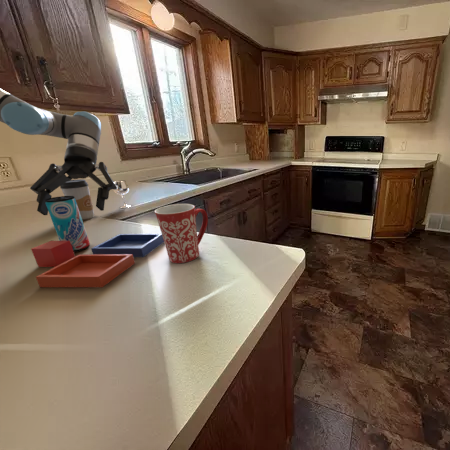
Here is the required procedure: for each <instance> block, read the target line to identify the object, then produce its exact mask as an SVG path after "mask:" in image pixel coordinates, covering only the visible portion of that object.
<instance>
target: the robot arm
mask: <svg viewBox="0 0 450 450" xmlns="http://www.w3.org/2000/svg"><path fill="white" fill-rule="evenodd" d="M0 122H1V123H3V124H5V125H6V126H8V127H9V128H10V129H12V130H14V131H16V132H18V133H21V134H24V135H28V136H29V135H30V136H35V135H38V136H39V135H41V136H47V137H54V138H58V139H59V138H60V139H65V140H67V143H66V145H65V146H66V147H65V151H64V157H63V160H64V162H63V164H62V165H56V164H55V163H50V165H49V166H48V169H47V170H46V171H45V172H44V173H42V175H41V176H40V177H39V178H38V179H37V180H36V181H35V182H34V183H33V184H32V185H31V186H30V190H31V191H33V192H34V193H35V194H36V195H37V197H36V203H38V205H37V209H36V212H38V213H39V214H41V215H43V216H48V214H49V211H48V208H47V206H46V202H45V199H49V198H53V197H52V195H51V194H52V193H53V192H54V191H56V190H57V189H59V188H60V186H61V185H62V184H64V183H65V182H66V181H70V180H79V179H84V180H85V179H87V178H90V179H91V180H92V181H93V182H94V183H96V184H97V186H98V188H97V194H96V202H95V207H96V208H97V209H98V210H99V211H103V212H104V211H105V204H106V203H105V202H106V200H108V199H109V195H110V191H111V190H113V189H117V187H116V185H115V183H114V180H113V178H112V177H111V175H110V174H109V172H108V167H107V165H106V164H105V163H104V161H99V162H98V163H97V160H98V154H99V153H98V152H99V145H100V140H101V135H102V123H101V121H100V119H99V118H98V117H97V116H96V115H94V114H92V113H91V112H88V111H82V110H81V111H76V112H75V113H74V114H73V115H69V114H63V113H58V112H55V111H50V110H46V109H43V108H39V107H37V106H34V105H32V104H31V103H28V102H26V101H25V100H23V99H21V98H19V97H17V96H15V95H13V94H11V93H9V92H7V91H5V90H3V89H2V88H0ZM96 170H98V171H99V172H101V174H102V176H103V177H104V179H105V181H106V182H104V181H103V180H102V179H100V178H99V177H98V176H97V175H96V174H95V173H94V172H95V171H96Z"/></svg>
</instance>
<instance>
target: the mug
mask: <svg viewBox="0 0 450 450" xmlns="http://www.w3.org/2000/svg"><path fill="white" fill-rule="evenodd" d="M199 213H201V216H202V223H201V225H200V226H201V227H200V229H199V231H198V230H197V220H196V218H197V216H198V215H199ZM154 214H155V216H156V219H157V222H158V226H159V229H160V232H161V233H160V234H162V236H163V240H164V242H163V244H164V245H165V251H166V253H167V256H168V259H169V262H171V263H172V264H185V263H189V262H192V261H194V260H196V259H197V258H198V257H199V256H200V248H199V245H200V243H201V241H202V239H203V238H204V235H205V232H206V231H207V227H208V224H209V223H208V222H209V218H208V217H209V216H208V212H207V211H206V210H205V209H203V208H196V206H195V205H194V204H191V203H174V204H169V205H163V206H161V207H158V208H156V209H154Z"/></svg>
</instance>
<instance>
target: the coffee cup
mask: <svg viewBox="0 0 450 450" xmlns="http://www.w3.org/2000/svg"><path fill="white" fill-rule="evenodd" d="M59 188H60V190H61V192H62V195H63V196H74V197H75V198H74V199H75V200H76V203H77V206H78V209H79V212H80V215H81V218H82V221H83V220H89V219H92V218H94V217H95V212H94V205H93V201H92V197H91V193H90V188H89V184H88V182H87V180H86V179H85V178H84V179H82V178H78V179H71V180H70V181H66V182H65V183H64V184H62V185H61V186H60V187H59Z"/></svg>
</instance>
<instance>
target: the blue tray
mask: <svg viewBox="0 0 450 450" xmlns="http://www.w3.org/2000/svg"><path fill="white" fill-rule="evenodd" d="M163 244H164V240H163V236H162V233H118V234H116V235H115V236H113V237H111V238H108V239H107V240H105V241H103V242H101V243H99V244H97V245H94V246H93V247H91V248H90V250H91V254H133V258H145V257H146V256H147V255H149V254H150V253H151V252H153V251H155V250H156V249H157V248H159V247H160V246H161V245H163Z"/></svg>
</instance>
